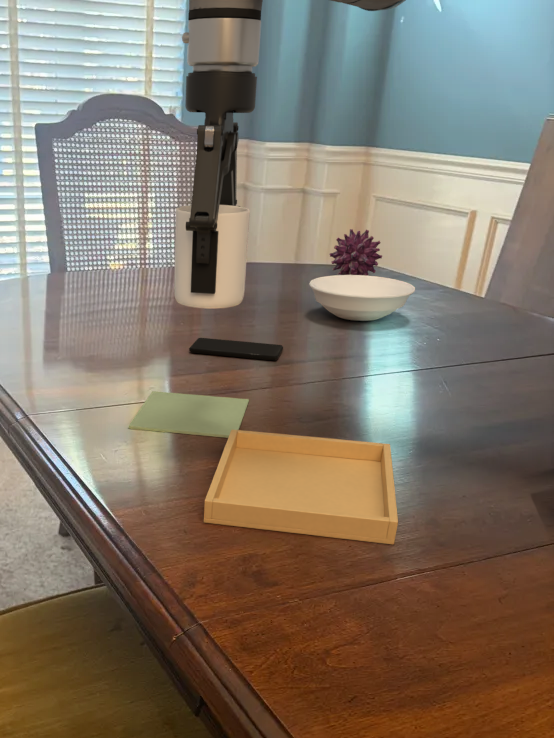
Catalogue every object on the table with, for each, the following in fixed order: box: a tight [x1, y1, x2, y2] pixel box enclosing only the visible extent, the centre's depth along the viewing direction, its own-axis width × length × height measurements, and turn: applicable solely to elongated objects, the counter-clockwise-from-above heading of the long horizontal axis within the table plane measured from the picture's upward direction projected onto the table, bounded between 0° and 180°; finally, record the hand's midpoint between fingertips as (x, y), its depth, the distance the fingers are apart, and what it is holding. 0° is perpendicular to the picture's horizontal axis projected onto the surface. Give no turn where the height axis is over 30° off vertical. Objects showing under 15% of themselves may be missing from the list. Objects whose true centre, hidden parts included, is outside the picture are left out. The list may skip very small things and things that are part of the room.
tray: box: [203, 429, 399, 545], centre depth 84 cm, size 19×20×2 cm
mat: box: [128, 390, 250, 439], centre depth 104 cm, size 14×14×1 cm
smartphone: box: [188, 337, 284, 361], centre depth 130 cm, size 7×1×15 cm
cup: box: [173, 204, 251, 310], centre depth 90 cm, size 8×12×10 cm
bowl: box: [308, 274, 416, 322], centre depth 149 cm, size 20×20×6 cm
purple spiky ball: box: [329, 228, 383, 276], centre depth 179 cm, size 12×12×12 cm
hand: (211, 281), depth 92 cm, fingers closed on cup, 12 cm apart
